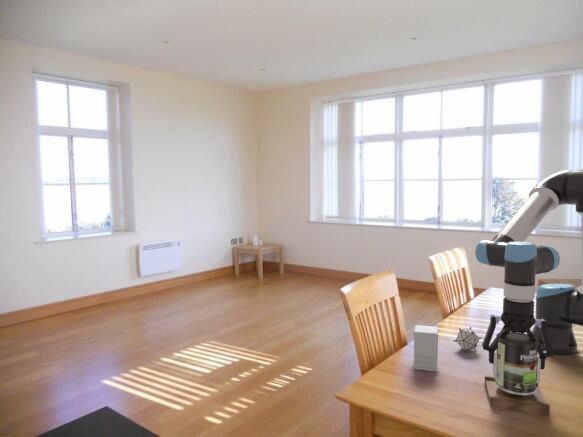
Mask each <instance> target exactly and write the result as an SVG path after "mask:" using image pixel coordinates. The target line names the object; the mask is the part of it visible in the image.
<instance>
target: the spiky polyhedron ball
mask: <svg viewBox="0 0 583 437" xmlns="http://www.w3.org/2000/svg"><path fill="white" fill-rule="evenodd" d="M458 330H459V332H458V334H457V336H456V337H455V338H456V339H454V340H453V342H456V343H457V344H458V345H459V346H460V347H461V348H462V350H463V353H466V351H470V350H474V351H477V349H476V348H477V347H478V343H479V342H480V340H481V339H482V338H483V337H479V336H478V334H476V333H475V331H473V330H472V327H471V326H470V327H469V328H466V329H461V328H460V327H459V328H458Z"/></svg>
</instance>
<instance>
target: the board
mask: <svg viewBox="0 0 583 437" xmlns="http://www.w3.org/2000/svg"><path fill="white" fill-rule="evenodd" d="M495 378H496V377H494V376H493V375H484V388H485V391H486V392H485V393H486V396H487V400H488V404H489V407H490V408H494V409H501V410H507V411H508V410H509V411H513V412H521V411H523V412H522V413H528V412H529V414H536V415H542V416H548V415H549V416H550V408H551V406H550V403H548V401H546V399H545V398H546V397H545V396H544V394H543V392H542V390H541V388H540V387H539V382H537V381H536V392H535V393H534V394H532V395H526V396H524V395H515V394H511V393H508V392H505V391H503V390H501V389H499V388H498V387H497V386H496V385H495Z"/></svg>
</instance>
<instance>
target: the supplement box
mask: <svg viewBox="0 0 583 437" xmlns="http://www.w3.org/2000/svg"><path fill="white" fill-rule="evenodd" d="M438 330H439V329H438V326H429V325H419V324H415V326H414V331H413V368H414V370H419V371H420V370H421V371H428V372H438V360H439V359H438V357H439V356H438V353H439V352H438V351H439V349H438V348H439V347H438V346H439V341H438V340H439V331H438Z"/></svg>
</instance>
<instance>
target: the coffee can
mask: <svg viewBox="0 0 583 437" xmlns="http://www.w3.org/2000/svg"><path fill="white" fill-rule="evenodd" d="M499 333H500V332H497V333H496V337H497V339H498V348H497V349H496V352H497V376H496V378H495V385H496V386H497V387H498V388H499V389H501V390H503V391H505V392H508V393H511V394H515V395H524V396H526V395H532V394H534V393H535V392H536V382H537V381H536V374H537V355H538V342H539V341H538V339H536V338H535V339H536V340H537V341H531V340H530V338H529V336H528V335H527V333H519V332H515V333H514V332H511V331H510V333H509V334H508V335H507V336H506V337H505V338H501V337H499V336H498V334H499ZM496 337H495V338H496Z"/></svg>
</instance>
